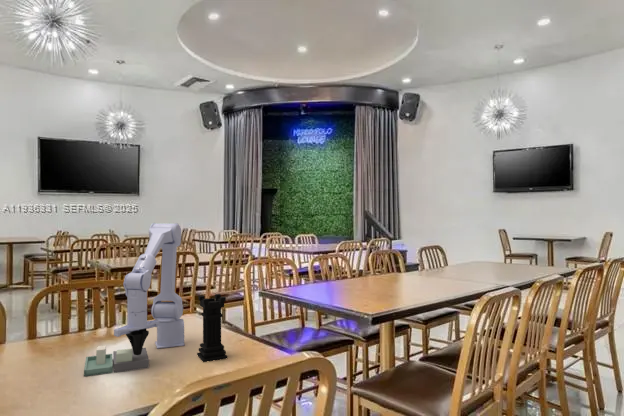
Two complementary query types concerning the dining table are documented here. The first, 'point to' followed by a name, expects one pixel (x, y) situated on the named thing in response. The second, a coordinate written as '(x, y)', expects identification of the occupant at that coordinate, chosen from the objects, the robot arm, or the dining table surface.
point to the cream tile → (101, 355)
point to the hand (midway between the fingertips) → (137, 354)
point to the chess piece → (212, 329)
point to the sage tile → (124, 355)
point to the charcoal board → (132, 362)
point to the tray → (98, 366)
